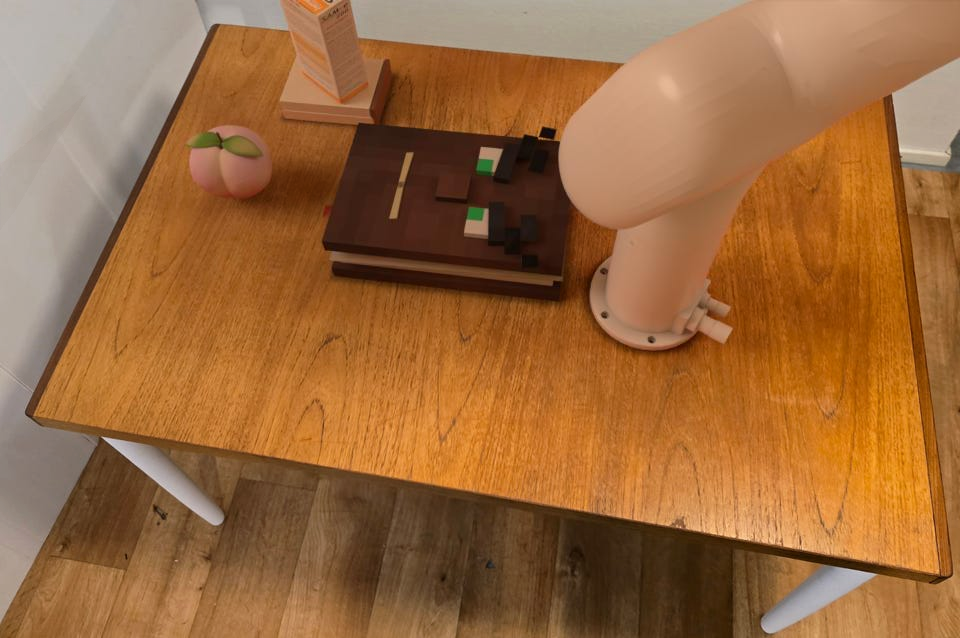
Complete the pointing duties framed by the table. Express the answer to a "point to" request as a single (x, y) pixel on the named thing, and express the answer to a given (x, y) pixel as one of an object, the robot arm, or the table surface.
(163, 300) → the table surface
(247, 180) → the decorative fruit
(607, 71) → the table surface
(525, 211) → the decorative book
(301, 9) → the supplement box
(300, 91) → the thin cream books
